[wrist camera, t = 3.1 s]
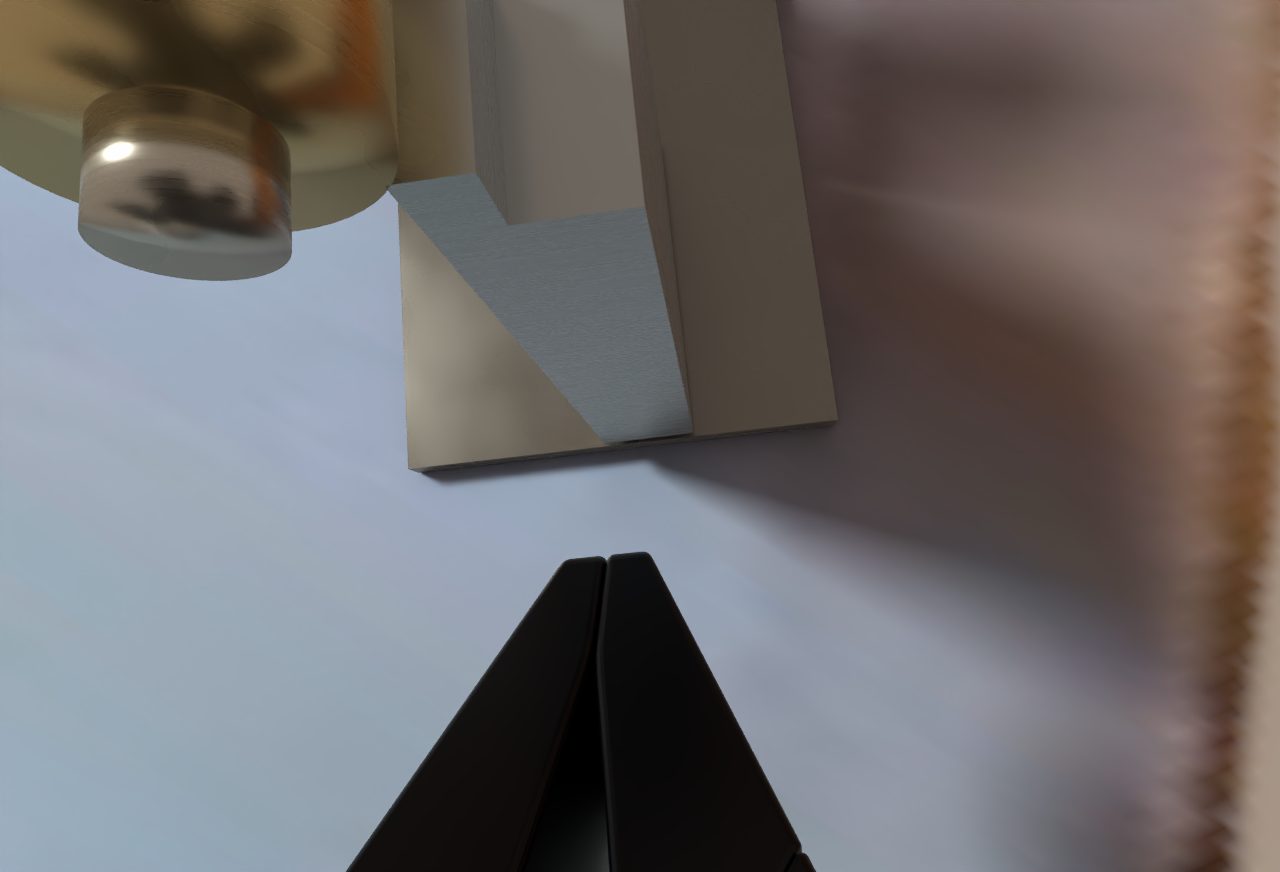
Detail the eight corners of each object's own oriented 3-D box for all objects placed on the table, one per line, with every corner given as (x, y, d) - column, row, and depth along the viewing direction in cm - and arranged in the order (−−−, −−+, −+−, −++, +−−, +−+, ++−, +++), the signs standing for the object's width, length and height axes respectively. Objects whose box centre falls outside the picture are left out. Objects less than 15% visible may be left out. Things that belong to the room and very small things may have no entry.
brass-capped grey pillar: (697, 466, 14) (592, 35, 3) (504, 487, 14) (-232, 167, 3) (659, 130, 15) (489, -1028, 4) (483, 156, 15) (-96, -865, 5)
